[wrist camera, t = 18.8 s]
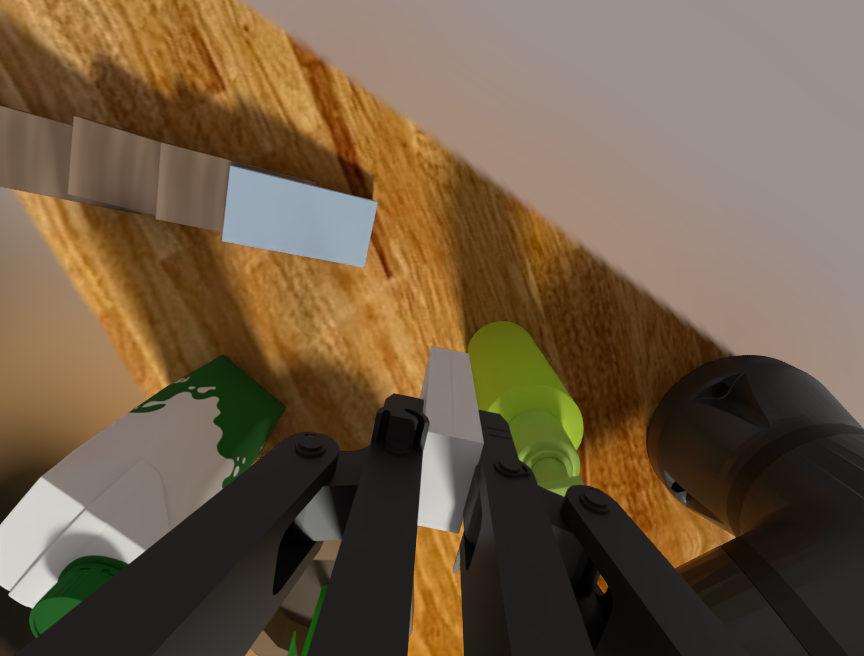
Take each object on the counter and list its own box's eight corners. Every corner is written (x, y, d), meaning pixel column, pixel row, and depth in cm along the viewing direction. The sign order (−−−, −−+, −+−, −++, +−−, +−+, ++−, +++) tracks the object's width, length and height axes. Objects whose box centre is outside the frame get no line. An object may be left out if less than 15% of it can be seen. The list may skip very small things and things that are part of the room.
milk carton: (241, 465, 41) (66, 700, 22) (162, 403, 39) (-104, 601, 20) (300, 406, 39) (166, 607, 20) (220, 339, 37) (-13, 488, 18)
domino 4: (377, 202, 32) (230, 165, 28) (364, 267, 33) (221, 241, 30) (372, 200, 33) (232, 165, 30) (360, 262, 35) (224, 236, 31)
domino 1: (146, 146, 31) (-53, 91, 26) (140, 214, 33) (-51, 176, 27) (147, 145, 33) (-41, 93, 27) (141, 210, 34) (-40, 174, 29)
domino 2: (241, 167, 31) (73, 116, 27) (229, 233, 33) (67, 193, 29) (243, 166, 33) (84, 117, 29) (231, 230, 34) (78, 191, 30)
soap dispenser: (474, 400, 38) (510, 600, 19) (461, 327, 37) (485, 469, 17) (540, 388, 38) (643, 581, 19) (530, 314, 36) (632, 445, 17)
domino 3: (317, 182, 32) (161, 142, 28) (305, 249, 33) (155, 219, 29) (315, 181, 33) (167, 143, 30) (304, 244, 35) (162, 215, 31)
